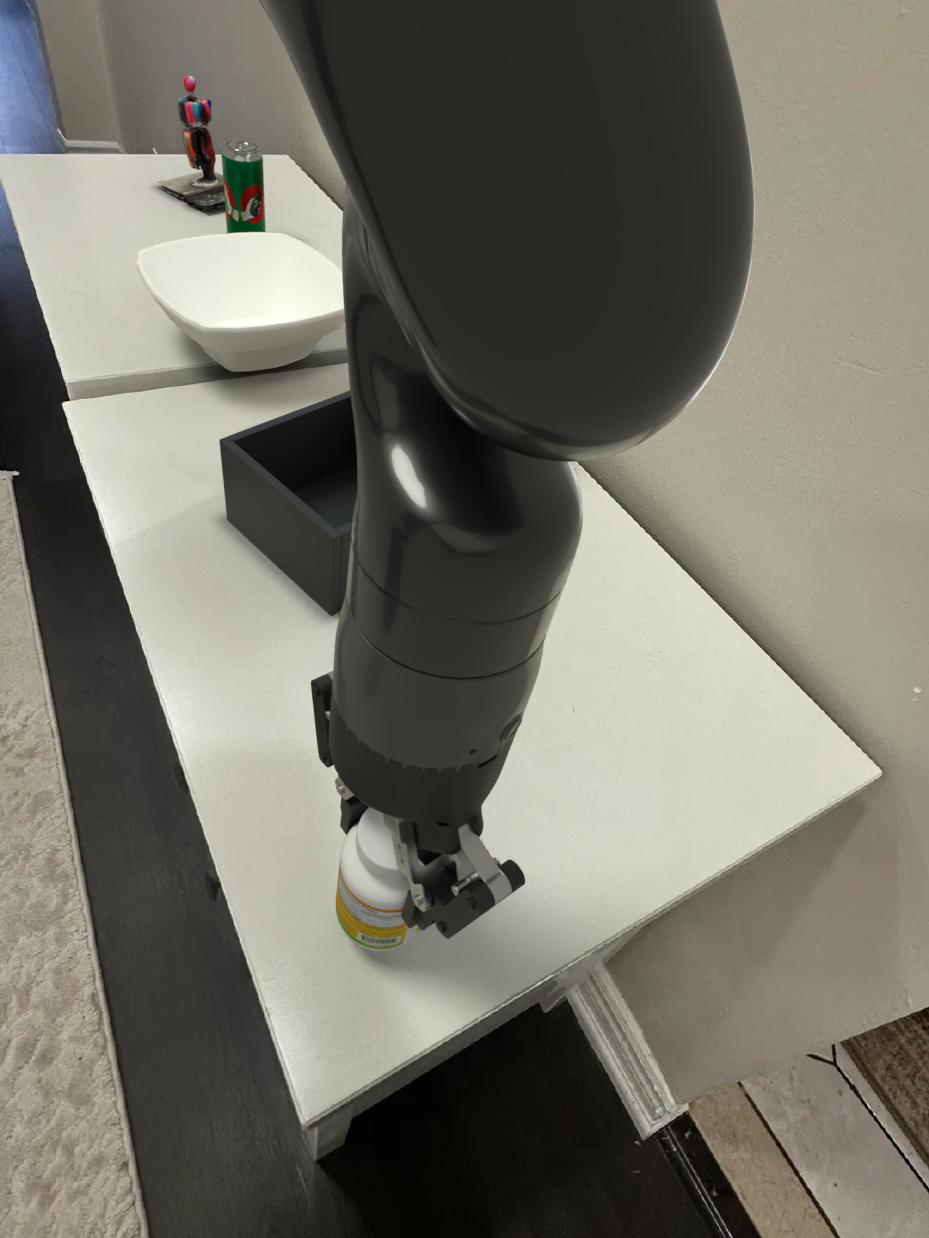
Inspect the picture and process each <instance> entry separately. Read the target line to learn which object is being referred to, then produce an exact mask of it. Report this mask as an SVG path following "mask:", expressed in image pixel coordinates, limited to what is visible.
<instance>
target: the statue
mask: <svg viewBox="0 0 929 1238" xmlns="http://www.w3.org/2000/svg"><path fill="white" fill-rule="evenodd" d="M182 79H183V86H184V89H185V91H186V92H187V93H188V94H187V95H188V96H187V95H183V97H179V98H178V100H177V102H176V103H177V110H178V116H179V122H180V123H181V125H182V126H183V127H184V128H182V131H181V135H182V141H183V147H184V152H185V154H186V157H187V160H188V163H189V166H190V167H191V168H192V169H193V170H194V169H195V170H198V171H197V172H194V173H191V174H186V175H182V176H178V177H173V178H169V179H165V180H160V181H157V183H158V184H161V186H159V185H158V189H161V191H165V192H166V193H168V194H171V195H173V196H174V197H177V198H180V199H181V200H185V199H186V202H188V203H187V205H188V206H189V207H193V208H195V207H196V208H198V209H204V210H207V209H211V208H214V207H215V205H216V208H225V198H224V184H223V174H221V173H218V172H216V171H215V165H216V162H217V157H216V152H215V148H214V141H213V138H212V134H211V132H210V130H209V128H207V127H209V123H212V100H211V99H209V98H205V97H203V96H202V97H201V99H200V97H199V96H198V95H197V96H195V90H196V87H197V85H196V83H197V82H196V78H195V77H194V76H191V75H185V76H184V77H183V78H182ZM198 123H201V124H200V126H194V125H195V124H196V125H197V124H198Z"/></svg>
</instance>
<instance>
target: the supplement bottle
mask: <svg viewBox="0 0 929 1238" xmlns="http://www.w3.org/2000/svg"><path fill="white" fill-rule="evenodd" d="M409 890H410V884H409V879H408V878H407V877H406V876H405V875H404V874H403V873H402V872H401V871H400V869H399V868H398V867H397V865H396V859H395V853H394V847H393V841H392V835H391V832H390V831H389V830H388V829H387V828H386V827H385V825H384V819H383V813H381V812H378V811H376V810H374V809H373V808H371V807H369V808H368V809H367V810H366V811H365V812H364V814H363V815H362V817H361V819H360V821H358V822H357V823H356V824H355V825H354V826H353V827H352V828H351V829H350V831H349V832H348V834H347V836H346V835H345V837H344V839H343V842H342V846H341V850H340V855H339V863H338V875H337V883H336V893H335V914H336V918H337V921H338V925H339V926H340V929H341V930H342V932H343V933H344V935H346V937H347V939H349V940H350V941H351V942H353V943H354V944H356V945H357V946H359V947H361V948H363V949H366V950H369V951H373V952H386V951H392V950H395V949H398V948H400V947H402V946H404V945H406V944H407V943H408V942H410V941H411V940H412V939H413V938H414V937H415V936H416V934H417V933H418V932H419V930H420V928H419V927H418V925H415V926H414V927H412V928H408V926H407V925H406V923H405V922H404V920H403V919H402V917H401V915H402V911H403V908H404V904H405V901H406V897H407V893H408V891H409Z"/></svg>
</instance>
